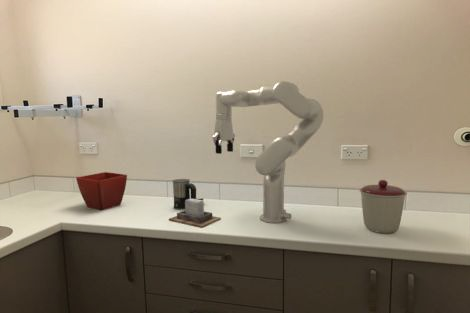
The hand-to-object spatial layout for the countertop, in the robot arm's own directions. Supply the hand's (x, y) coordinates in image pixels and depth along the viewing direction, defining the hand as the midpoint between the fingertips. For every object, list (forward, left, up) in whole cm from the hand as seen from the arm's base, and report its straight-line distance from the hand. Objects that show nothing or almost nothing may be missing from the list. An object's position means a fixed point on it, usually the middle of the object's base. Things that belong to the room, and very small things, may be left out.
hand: (224, 152), depth 167 cm
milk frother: (+24, +1, -31) cm, 39 cm away
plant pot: (+64, +25, -31) cm, 75 cm away
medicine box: (+5, +18, -30) cm, 35 cm away
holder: (+5, +18, -30) cm, 36 cm away
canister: (-71, -13, -31) cm, 78 cm away
